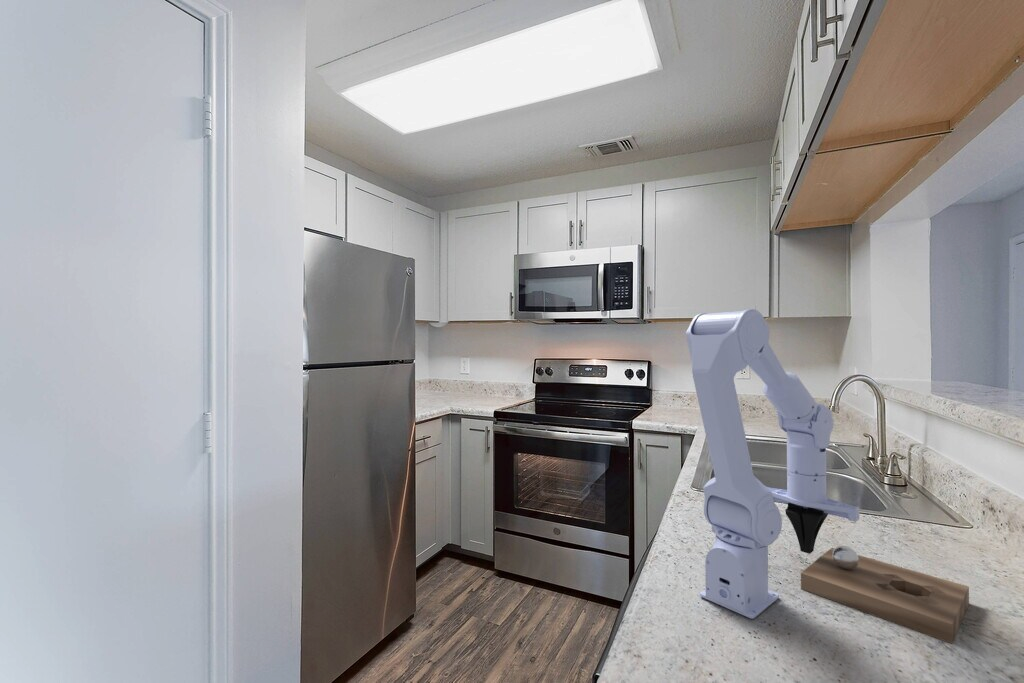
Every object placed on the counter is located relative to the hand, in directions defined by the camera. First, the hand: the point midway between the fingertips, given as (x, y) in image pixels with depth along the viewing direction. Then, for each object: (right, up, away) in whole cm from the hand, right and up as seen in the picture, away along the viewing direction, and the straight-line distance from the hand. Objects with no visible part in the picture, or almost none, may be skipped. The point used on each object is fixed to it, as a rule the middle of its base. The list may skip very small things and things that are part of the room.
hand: (807, 550), depth 79 cm
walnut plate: (+7, -3, -8) cm, 11 cm away
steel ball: (+4, +1, -4) cm, 6 cm away
